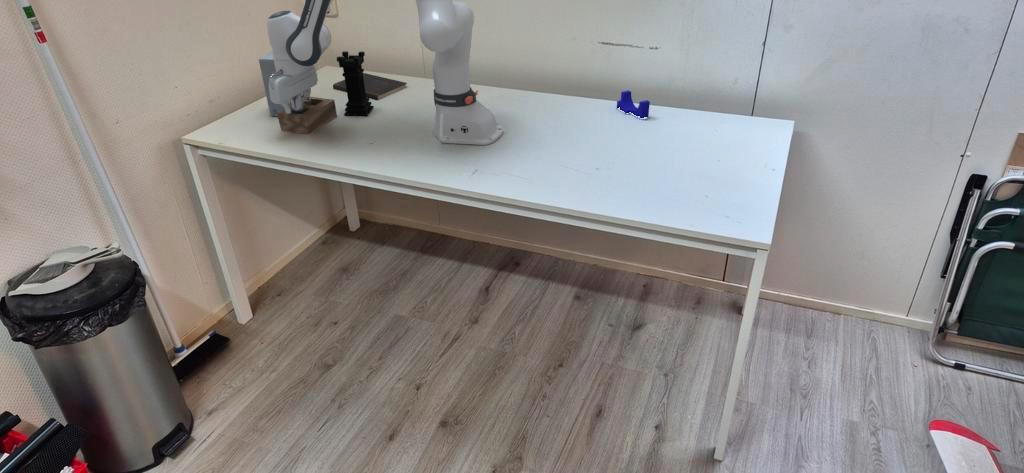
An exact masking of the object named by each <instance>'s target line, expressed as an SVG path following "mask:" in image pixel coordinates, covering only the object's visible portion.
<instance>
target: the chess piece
mask: <svg viewBox="0 0 1024 473" xmlns="http://www.w3.org/2000/svg"><path fill="white" fill-rule="evenodd" d="M341 54H342V56H337V57H336V62H337V63H338V65H339V68H342V71H343V72H342V73H341V74H342V77H344V78H343V79H344V80H345V84H346V90H347V92H346V94H347V96H346V97H347V102H346V103H345V108H344V111H345V112H344V114H343V116H344V117H358V118H359V117H361V118H363V117H365V118H366V117H369V115H370V113H371V112H372V111H373V110H374V107H375V106H374V105H372V104H373V103H372V101H370V100H371V98H367V97H366V92H365V85H364V79H363V73H365V70H364V69H365V68H363V65H362V64H363V63H364V62H365V58H364V57H365V56H366V55H365V51H359V52H358V53H357V54H358V55H357V54H356V55H355V54H353V55H350V54H349V51H345V50H344V51H342V52H341Z"/></svg>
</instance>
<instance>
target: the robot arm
mask: <svg viewBox="0 0 1024 473" xmlns="http://www.w3.org/2000/svg"><path fill="white" fill-rule="evenodd" d="M333 1H334V0H305V3H304V5H303V9H302V13H301V15H300V16H299V15H297V14H295V13H294V12H293V11H291V10H281V11H277V12H274V13H273V14H271V15H270V16H269V17H268V18H267V20H266V21H267V22H266V24H267V25H266V26H267V35H268V40H269V45H270V47H271V48H272V51H273V59H274V64H275V68H276V73H273V74H271V77H270V79H269V93H270V99H271V101H272V102H273V103H276V104H281V105H282V106H283V107H284V108H285V112H286V113H289V114H290V113H291V112H293V110H292V107H290V106H289V105H288V103H289V100H290V99H291V98H293V97H295V96H297V95H299V94H300V93H302V92H304V97H303V102H304V103H308V102H310V97H311V93H312V89H311V88H313V87H315V86H316V85H317V84H318V82H319V81H318V80H319V78H318V73H317V69H316V66H315V64H317V62H319V60H320V59H321V57H322V55H323V54H324V53H325V51H326V50H327V49H328V48H329V46H330V45H331V42H332V34H331V32H330V29H329V28H328V27H327V26H326V25H325V24H324V22H325V19H326V17H327V13H328V11H329V8H330V6H331V5H332V3H333ZM415 4H416V7H417V12H418V13H417V14H418V18H419V25H420V28H419V38H420V40H421V43H422V44H423V46H424V47H425V48H426V49H428V50H429V51H431V52H433V53H434V59H433V62H432V73H433V85H434V86H433V87H434V88H433V101H434V106H435V118H434V125H433V130H432V133H433V135H434V136H435V137H437V138H438V140H439V142H440V143H443V144H456V145H457V144H459V145H460V144H462V145H478V146H479V145H481V146H487V145H490V144H493V143H495V142H496V141H497V140H499V139H500V138H501V136H502V135H503V133H504V127H503V126H502V125H499V124H497V121H496V118H495V117H496V116H495V114H494V112H492V111H491V110H490V109H489V108H487V106H485V105H484V104H482V103H481V102H480V101H478V100H477V95H478V94H479V93H478V92H479V91H478V90H476V91H475V92H474V90H473V88H472V87H471V78H470V77H471V75H470V58H471V57H470V55H471V48H472V47H471V46H472V35H473V26H474V23H475V15H474V11H473V9H472V7H471V6H469V4H468V3H466V2H464V1H457V0H453V1H452V0H415Z"/></svg>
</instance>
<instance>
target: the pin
mask: <svg viewBox="0 0 1024 473" xmlns="http://www.w3.org/2000/svg"><path fill="white" fill-rule="evenodd" d="M290 100H291V104H292V109H293V113H295V114H302V113H304V112H305V110H304V105H303V100H302V96H301V93H300V94H299V95H297V96H295V97H293V98H291V99H290Z"/></svg>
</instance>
